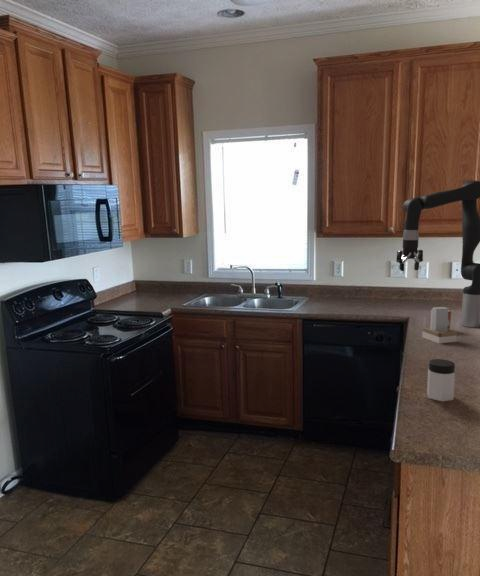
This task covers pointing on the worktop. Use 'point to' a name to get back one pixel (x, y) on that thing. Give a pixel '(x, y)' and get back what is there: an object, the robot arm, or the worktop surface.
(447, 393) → the jar
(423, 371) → the worktop surface
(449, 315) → the small box
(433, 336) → the wooden tray
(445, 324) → the skincare box
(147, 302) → the worktop surface
